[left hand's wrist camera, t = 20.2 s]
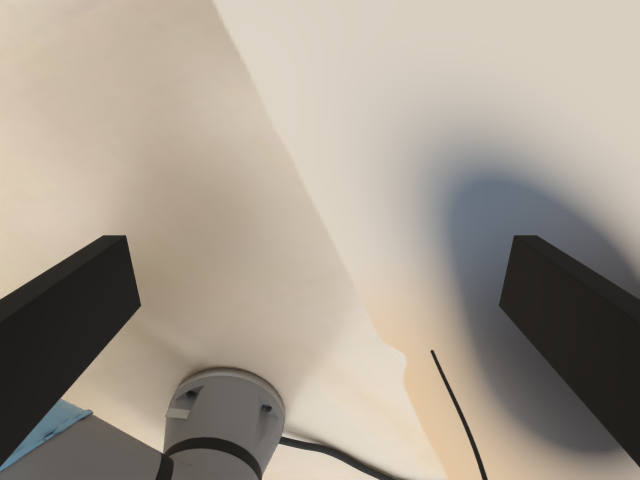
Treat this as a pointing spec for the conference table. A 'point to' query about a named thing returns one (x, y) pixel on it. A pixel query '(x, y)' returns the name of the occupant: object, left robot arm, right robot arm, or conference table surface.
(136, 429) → the conference table surface
